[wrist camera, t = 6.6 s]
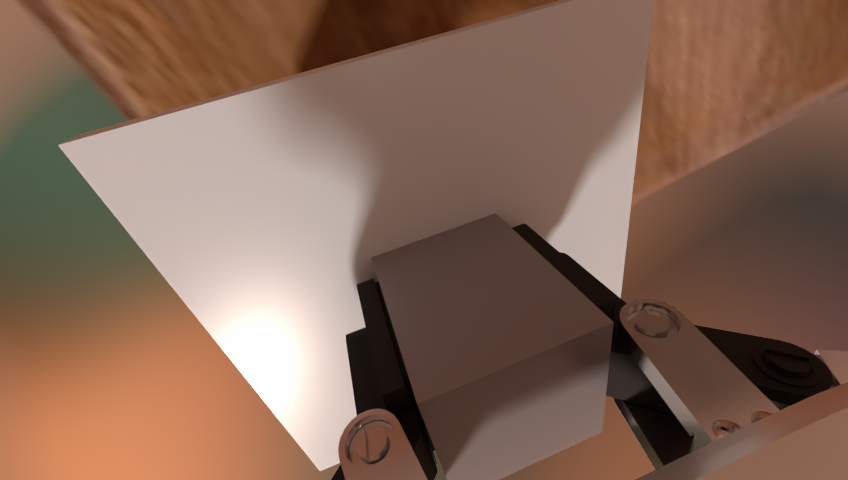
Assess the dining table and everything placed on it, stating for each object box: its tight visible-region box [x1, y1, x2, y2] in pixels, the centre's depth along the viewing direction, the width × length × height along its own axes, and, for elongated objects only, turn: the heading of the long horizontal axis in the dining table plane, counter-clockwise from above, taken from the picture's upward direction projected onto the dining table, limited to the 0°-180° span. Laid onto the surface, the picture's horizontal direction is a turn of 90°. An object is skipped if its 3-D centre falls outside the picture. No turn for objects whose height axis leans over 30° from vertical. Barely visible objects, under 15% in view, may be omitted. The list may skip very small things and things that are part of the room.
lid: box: [58, 0, 654, 480], centre depth 10 cm, size 14×14×6 cm
